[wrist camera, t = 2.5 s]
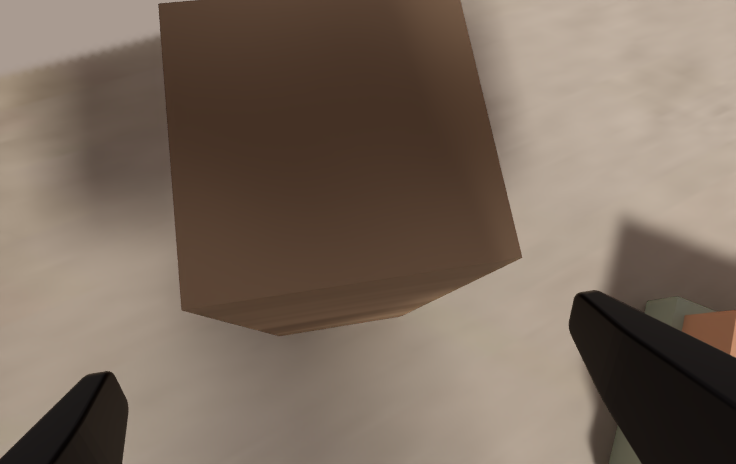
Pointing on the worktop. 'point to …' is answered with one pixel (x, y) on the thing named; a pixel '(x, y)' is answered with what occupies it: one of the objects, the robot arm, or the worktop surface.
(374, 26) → the walnut block
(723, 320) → the tower top
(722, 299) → the worktop surface
